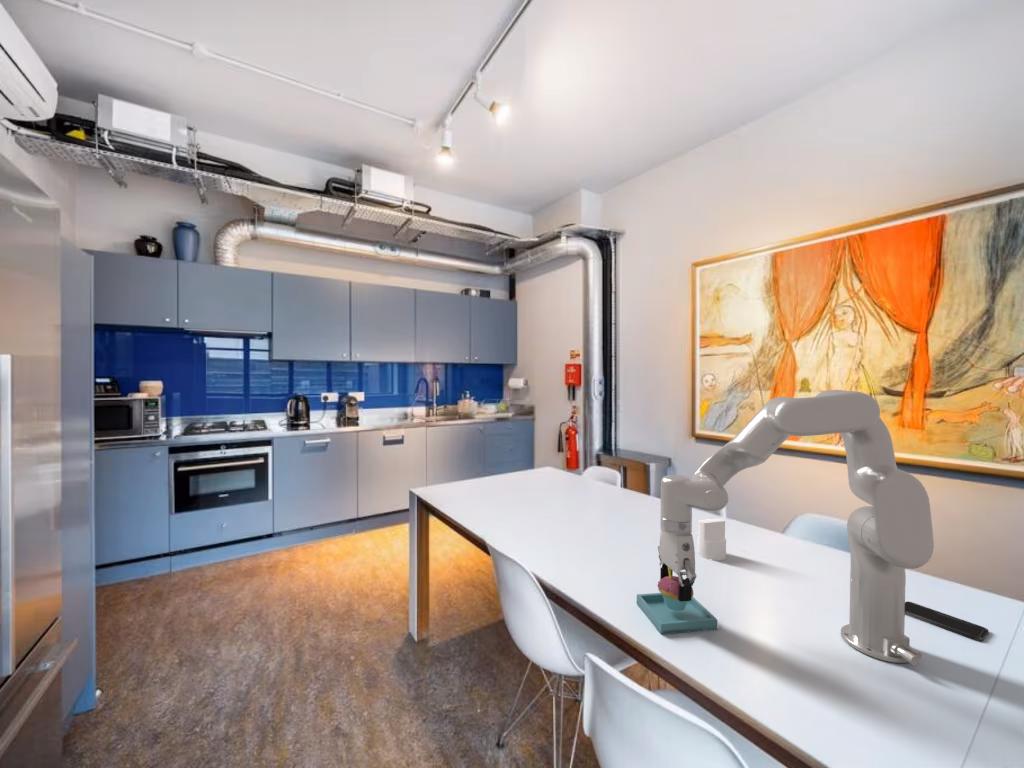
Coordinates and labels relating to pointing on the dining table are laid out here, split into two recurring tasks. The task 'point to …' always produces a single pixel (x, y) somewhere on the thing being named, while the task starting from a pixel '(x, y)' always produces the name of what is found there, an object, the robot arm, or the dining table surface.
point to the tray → (676, 615)
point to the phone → (946, 622)
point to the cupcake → (671, 592)
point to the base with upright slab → (711, 539)
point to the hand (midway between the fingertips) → (675, 591)
